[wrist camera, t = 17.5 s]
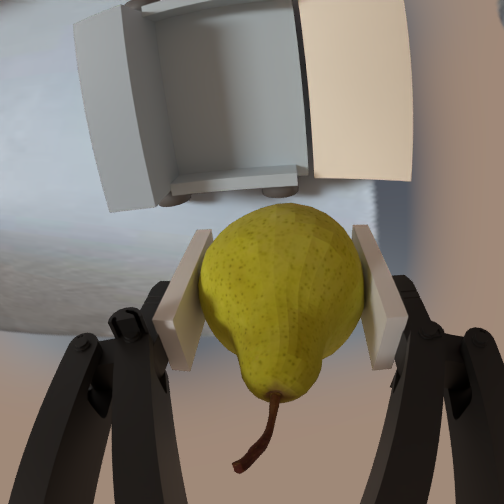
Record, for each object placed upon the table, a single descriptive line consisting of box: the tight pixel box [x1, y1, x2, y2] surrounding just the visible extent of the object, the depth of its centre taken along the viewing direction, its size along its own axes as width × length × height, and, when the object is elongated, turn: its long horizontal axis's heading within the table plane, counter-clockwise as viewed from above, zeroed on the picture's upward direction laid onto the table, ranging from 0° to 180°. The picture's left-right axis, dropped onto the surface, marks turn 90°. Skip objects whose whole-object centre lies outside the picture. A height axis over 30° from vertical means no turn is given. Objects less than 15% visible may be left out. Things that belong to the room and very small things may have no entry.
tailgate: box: [298, 0, 413, 181], centre depth 20 cm, size 1×16×8 cm
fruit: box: [198, 203, 364, 474], centre depth 11 cm, size 7×7×12 cm
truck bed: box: [73, 0, 309, 213], centre depth 21 cm, size 15×20×9 cm
